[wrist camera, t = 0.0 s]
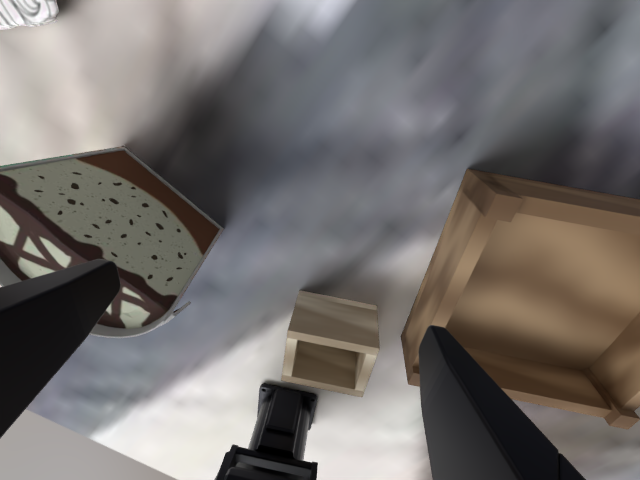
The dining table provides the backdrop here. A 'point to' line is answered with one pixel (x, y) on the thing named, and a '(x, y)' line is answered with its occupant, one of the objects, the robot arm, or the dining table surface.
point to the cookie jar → (27, 13)
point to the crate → (539, 293)
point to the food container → (104, 231)
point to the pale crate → (331, 343)
